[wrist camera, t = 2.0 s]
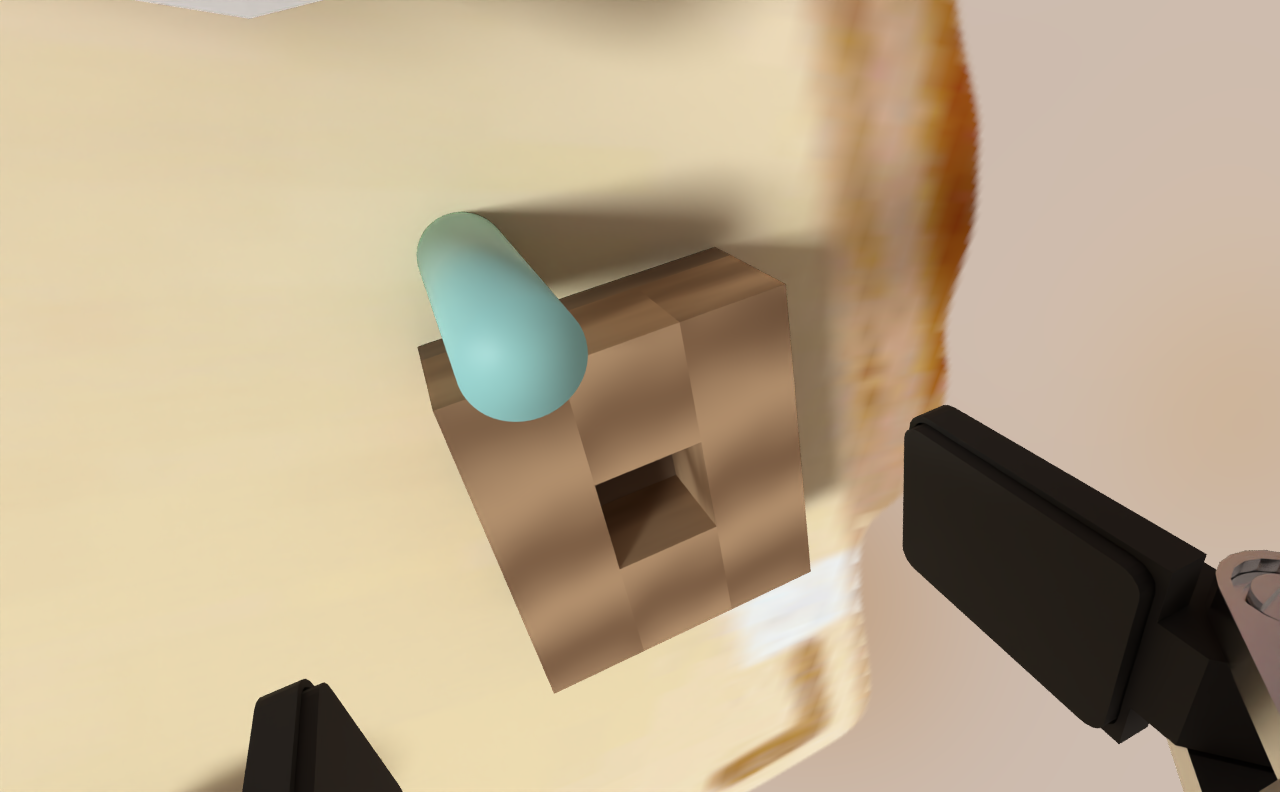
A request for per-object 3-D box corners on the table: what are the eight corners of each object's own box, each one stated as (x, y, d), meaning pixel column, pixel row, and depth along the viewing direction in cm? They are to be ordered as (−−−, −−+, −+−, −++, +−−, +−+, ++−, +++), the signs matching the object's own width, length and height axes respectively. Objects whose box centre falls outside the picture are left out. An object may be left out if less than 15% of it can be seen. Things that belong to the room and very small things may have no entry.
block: (417, 347, 28) (432, 410, 23) (715, 247, 31) (785, 283, 26) (525, 605, 36) (554, 693, 31) (751, 505, 39) (810, 571, 34)
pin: (402, 227, 26) (433, 323, 16) (492, 200, 26) (569, 278, 17) (435, 312, 27) (479, 440, 18) (518, 284, 28) (600, 394, 19)
